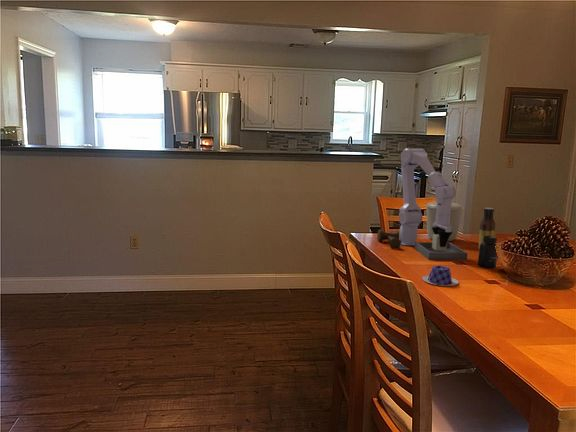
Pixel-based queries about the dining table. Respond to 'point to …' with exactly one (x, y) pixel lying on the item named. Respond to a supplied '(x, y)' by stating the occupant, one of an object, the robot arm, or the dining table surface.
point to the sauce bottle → (487, 225)
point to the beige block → (437, 243)
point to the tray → (440, 252)
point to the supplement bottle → (488, 253)
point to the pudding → (440, 276)
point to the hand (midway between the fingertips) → (440, 245)
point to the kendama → (389, 238)
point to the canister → (454, 218)
